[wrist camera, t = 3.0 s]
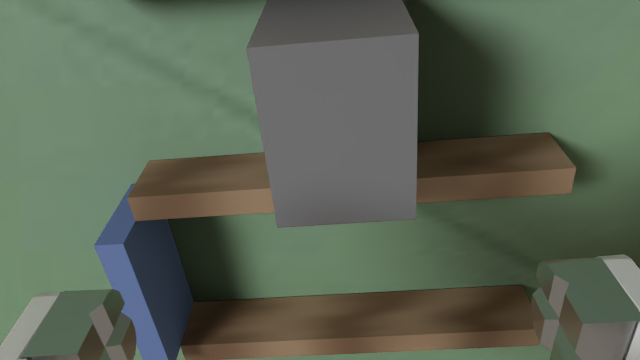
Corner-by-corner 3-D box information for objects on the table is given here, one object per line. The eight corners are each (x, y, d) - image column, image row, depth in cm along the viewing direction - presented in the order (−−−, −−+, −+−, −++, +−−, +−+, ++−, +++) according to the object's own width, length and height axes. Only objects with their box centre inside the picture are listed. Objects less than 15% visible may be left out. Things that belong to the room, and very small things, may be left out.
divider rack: (589, -108, 17) (662, -98, 13) (519, 300, 28) (549, 371, 24) (48, -54, 18) (-25, -30, 15) (178, 317, 29) (155, 387, 25)
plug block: (391, -22, 19) (418, 33, 13) (393, 122, 22) (415, 219, 16) (272, -11, 19) (246, 47, 13) (291, 129, 22) (277, 227, 16)
